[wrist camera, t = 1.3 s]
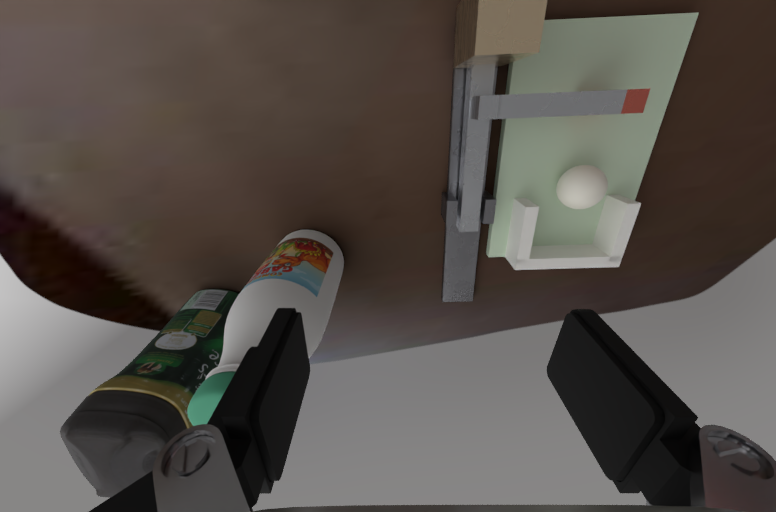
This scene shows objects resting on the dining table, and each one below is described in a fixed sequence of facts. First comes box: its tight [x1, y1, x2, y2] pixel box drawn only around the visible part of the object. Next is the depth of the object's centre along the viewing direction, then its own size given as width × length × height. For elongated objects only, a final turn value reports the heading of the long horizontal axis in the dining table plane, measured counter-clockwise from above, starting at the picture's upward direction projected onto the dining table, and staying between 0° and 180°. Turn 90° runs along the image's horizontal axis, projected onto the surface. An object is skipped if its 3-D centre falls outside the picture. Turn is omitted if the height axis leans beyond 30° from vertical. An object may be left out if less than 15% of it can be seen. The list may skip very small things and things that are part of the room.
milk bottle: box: [187, 230, 344, 426], centre depth 25 cm, size 8×8×20 cm
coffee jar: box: [60, 289, 239, 498], centre depth 30 cm, size 10×8×19 cm
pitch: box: [486, 13, 699, 257], centre depth 29 cm, size 21×14×1 cm, turn 2°
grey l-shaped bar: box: [453, 0, 651, 232], centre depth 24 cm, size 18×14×7 cm
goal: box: [505, 195, 641, 270], centre depth 30 cm, size 7×10×3 cm, turn 92°
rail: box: [441, 23, 498, 302], centre depth 29 cm, size 28×5×3 cm, turn 2°
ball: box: [556, 165, 608, 209], centre depth 28 cm, size 4×4×4 cm
